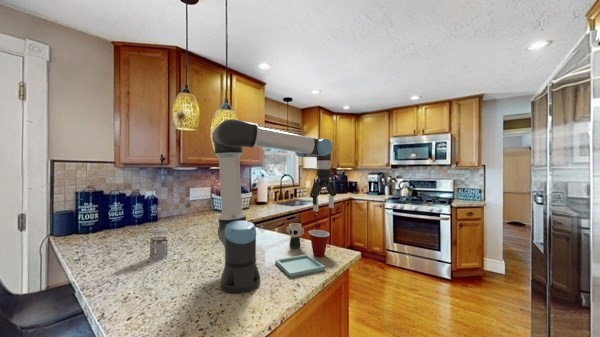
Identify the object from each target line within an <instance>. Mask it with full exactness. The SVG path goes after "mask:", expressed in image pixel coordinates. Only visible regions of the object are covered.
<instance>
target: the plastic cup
mask: <svg viewBox="0 0 600 337" xmlns="http://www.w3.org/2000/svg"><path fill="white" fill-rule="evenodd" d="M308 234H309V236H310V243H311V249H312V255H313V256H314V257H316V258H322V257H323V258H324V256H325V254H326V250H327V244H328V239H329V237H330V232H328V231H326V230H322V229H312V230H309V231H308Z"/></svg>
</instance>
